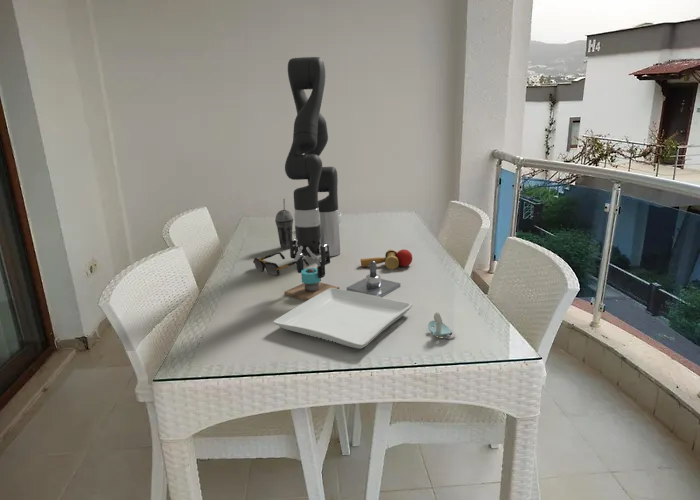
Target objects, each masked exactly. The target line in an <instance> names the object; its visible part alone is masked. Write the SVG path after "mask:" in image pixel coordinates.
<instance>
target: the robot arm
mask: <svg viewBox="0 0 700 500" xmlns="http://www.w3.org/2000/svg"><path fill="white" fill-rule="evenodd" d="M287 63H288V64H287V74H288V82H289V86H290V89H291V93H292V96H293V101H294V105H295V110H296V117H295V119H294V123H293V133H292V143H291V146H290V149H289V152H288V154H287V157H286V158H285V159H286V160H285V164H284V172H285V174H286V176H287V178H289V179H290V180H292V181H293V180H294V181H301V180H307V184H308V185H306V186H302V187H297V188H295V189H294V191H293V205H294V207H293V208H294V215H293V221H294V227H295V228H294V230H295V238H294V239H293V238H292V240H290V249H289V257H290V259H291V260H292V259H293V260H294V262H295V261H296V264H295V266H296V267H295V268H296V271H297V274H298V273H299V274H301V270H304V269H305V267H304V264H305V263H304V261H303V260H302V259H304V258H305V257H309V258H311V259H312V260H313V261H314V262H315V263H316V265H317V267H316V268H317V270H318V278H321V279H322V278H324V277H325V276H326V266H327V265H329V264H330V263H331V257H335V256H338V255H340V254H341V240H340V239H341V236H340V224H339V214H338V212H339V201H338V200H339V199H338V198H339V197H338V180H339V179H338V170H337V168H336V167H335V166H323V161H322V159H321V157H320V155H321V154H322V153H323V151H324V149H325V148H326V146H327V144H328V140H329V135H328V128H327V127H328V126H327V121H326V119H325V117H324V116H323V114H322V113H321V109H322V108H321V107H322V101H323V96H324V89H325V85H326V67H325V62H324V61H323V58H321V57H319V56H310V57H309V56H303V57H293V58H291V59H289V60H288V62H287ZM305 90H312V91H311V93H310V96H309V97H308V96H307V95H306V94H307V93H306V92H305ZM319 193H328V195H327V196H326V197H324V198H322V199H319V196H318V195H319Z"/></svg>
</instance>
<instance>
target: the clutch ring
mask: <svg viewBox="0 0 700 500" xmlns="http://www.w3.org/2000/svg"><path fill="white" fill-rule="evenodd" d="M311 268H312V269H314V273H308V271H307V270H308V269H311ZM300 275H301V283H302V284H303V283H306V284H314V283H318V282H321V281H322V278H318V270H317V267H307V268H304V270H301V273H300Z"/></svg>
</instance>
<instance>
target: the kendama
mask: <svg viewBox="0 0 700 500" xmlns="http://www.w3.org/2000/svg"><path fill="white" fill-rule="evenodd" d="M384 255H385V256H384V257H369V258H368V257H367V258H360V265H361V268H365V267H368V266H369V267H370V262H371V261H375V262H376V265H378V264H384V265H385V267H386V269H388V270H394V269H397V268H398V267H399V266H400V267H408V266H410V265H411V263H412V262H413V254H412V252H411V251H409V250H408V249H400V250H398V251H396V250H394V249H388V250H387V251H386V252H385V254H384Z"/></svg>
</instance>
